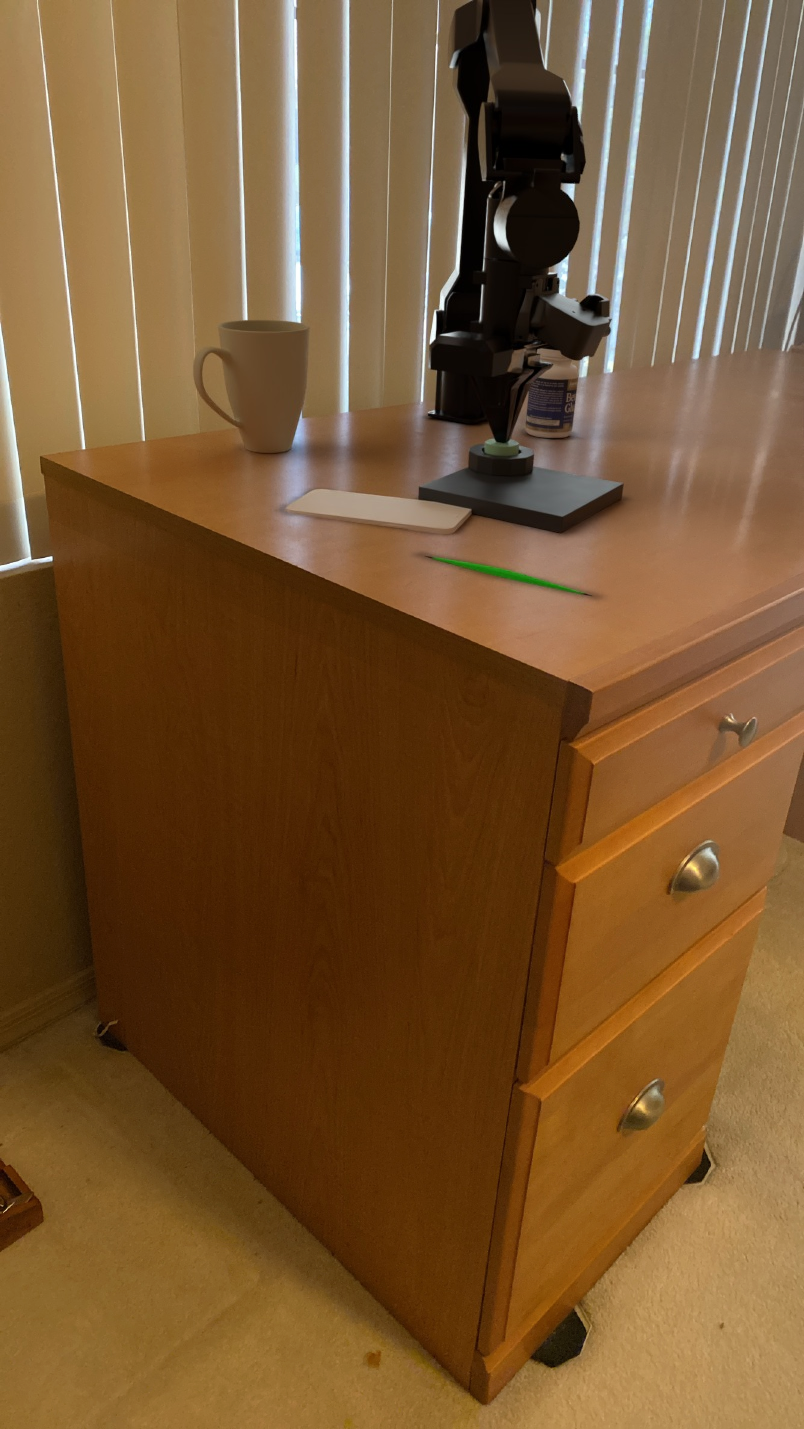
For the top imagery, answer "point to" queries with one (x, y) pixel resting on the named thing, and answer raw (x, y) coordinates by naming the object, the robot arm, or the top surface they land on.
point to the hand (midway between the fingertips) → (502, 442)
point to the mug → (261, 379)
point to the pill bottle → (552, 397)
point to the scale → (522, 491)
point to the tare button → (501, 448)
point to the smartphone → (381, 510)
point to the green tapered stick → (506, 574)
